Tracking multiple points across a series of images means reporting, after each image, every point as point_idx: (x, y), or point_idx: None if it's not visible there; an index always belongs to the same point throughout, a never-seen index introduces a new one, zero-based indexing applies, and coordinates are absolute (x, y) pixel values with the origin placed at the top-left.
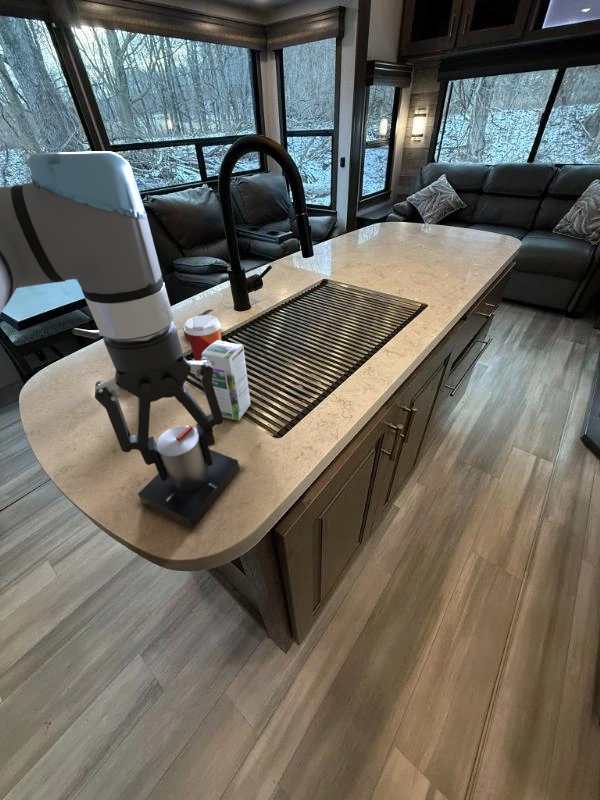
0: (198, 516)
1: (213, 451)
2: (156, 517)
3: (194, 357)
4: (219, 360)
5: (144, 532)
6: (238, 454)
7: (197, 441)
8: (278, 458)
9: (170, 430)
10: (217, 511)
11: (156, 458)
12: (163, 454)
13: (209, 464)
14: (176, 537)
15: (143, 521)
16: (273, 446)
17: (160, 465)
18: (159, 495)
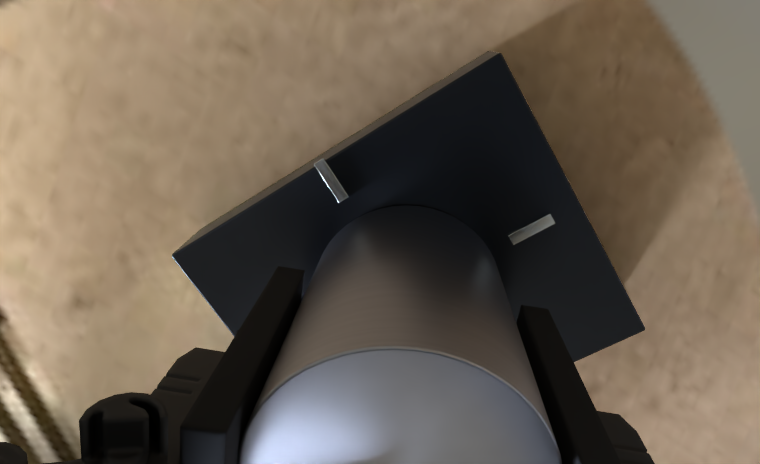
0: (450, 78)
1: None
2: (597, 200)
3: None
4: None
5: (667, 157)
6: (178, 310)
7: (268, 401)
8: (17, 192)
9: None
10: (364, 78)
11: (579, 423)
12: (540, 419)
13: (293, 273)
14: (566, 54)
15: (649, 211)
16: (19, 266)
17: (553, 374)
18: (567, 268)
